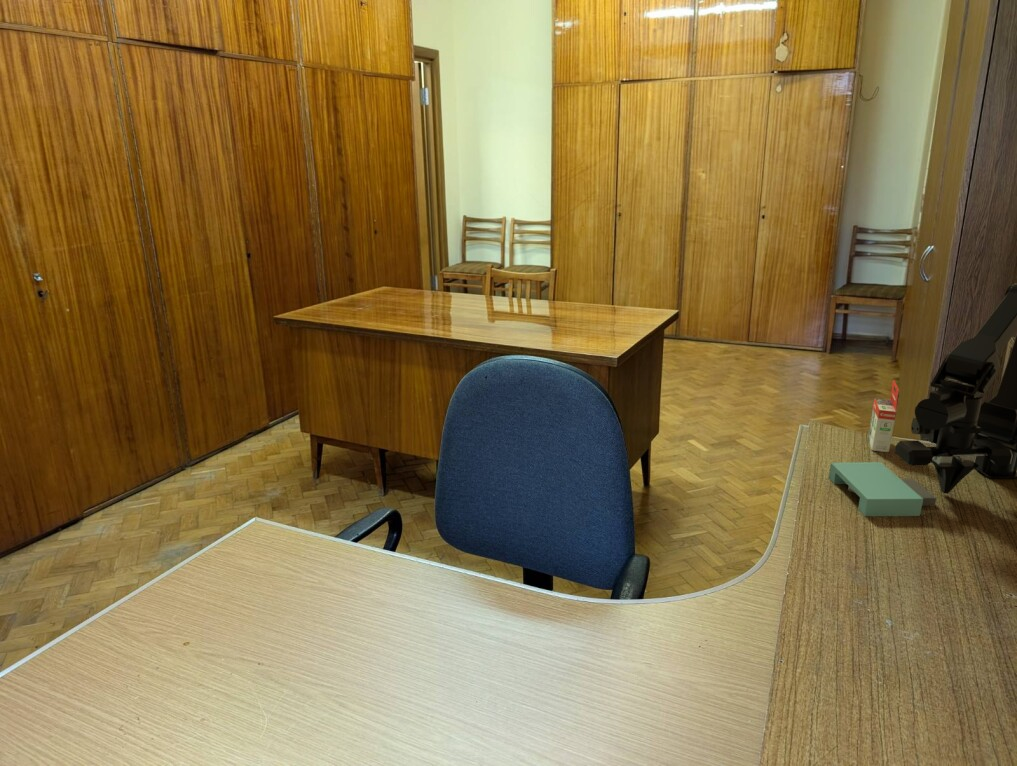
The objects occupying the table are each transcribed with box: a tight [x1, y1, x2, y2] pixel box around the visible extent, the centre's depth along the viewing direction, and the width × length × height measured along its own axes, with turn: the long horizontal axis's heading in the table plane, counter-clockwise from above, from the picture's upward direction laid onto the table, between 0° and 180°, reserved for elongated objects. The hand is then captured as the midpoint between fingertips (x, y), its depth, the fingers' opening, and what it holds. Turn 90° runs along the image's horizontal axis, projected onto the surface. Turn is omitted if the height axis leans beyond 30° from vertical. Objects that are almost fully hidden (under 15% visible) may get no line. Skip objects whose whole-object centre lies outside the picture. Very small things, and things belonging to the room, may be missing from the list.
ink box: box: [867, 379, 901, 453], centre depth 152 cm, size 4×8×15 cm, turn 160°
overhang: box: [828, 461, 923, 517], centre depth 131 cm, size 10×15×4 cm, turn 179°
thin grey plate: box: [900, 478, 937, 506], centre depth 132 cm, size 11×8×2 cm
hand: (944, 492), depth 132 cm, fingers closed
